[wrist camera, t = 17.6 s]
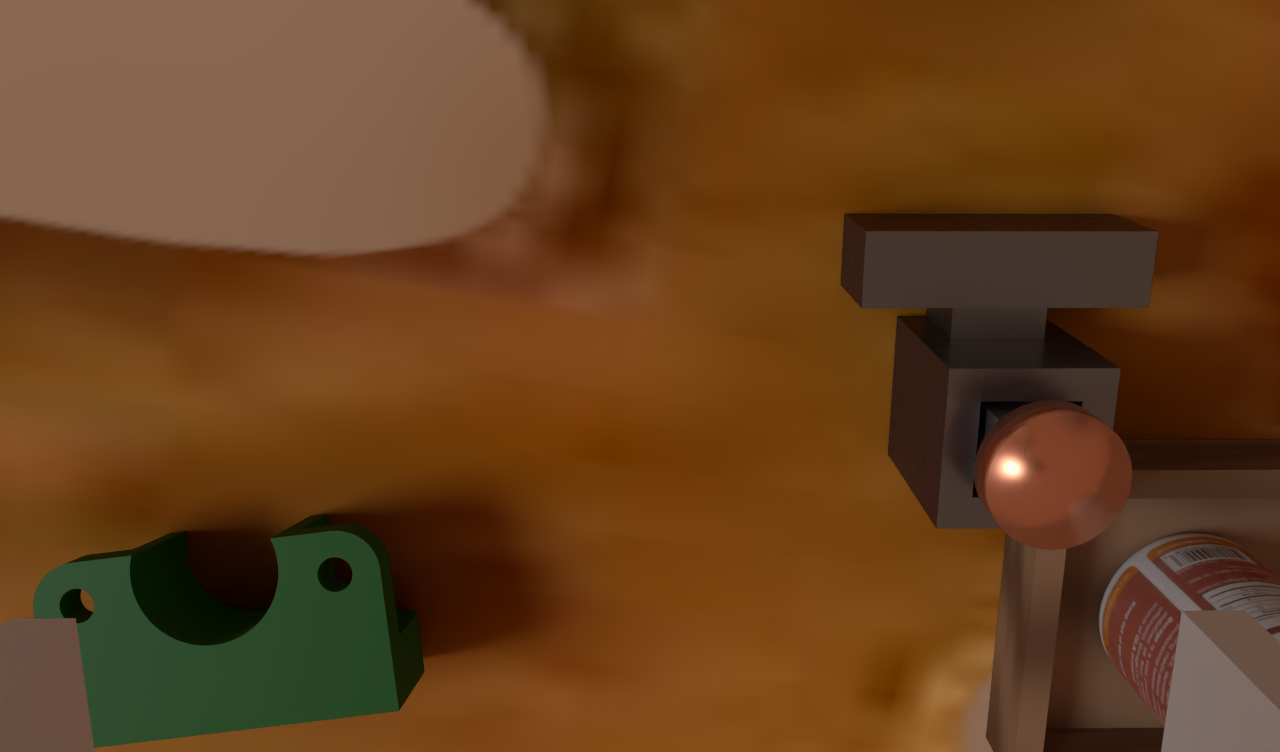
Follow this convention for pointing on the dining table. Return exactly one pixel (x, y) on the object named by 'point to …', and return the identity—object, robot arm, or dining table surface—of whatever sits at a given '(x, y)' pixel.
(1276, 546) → the tray
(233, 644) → the clamp
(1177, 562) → the pill bottle
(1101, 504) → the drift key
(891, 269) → the socket
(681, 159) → the dining table surface
